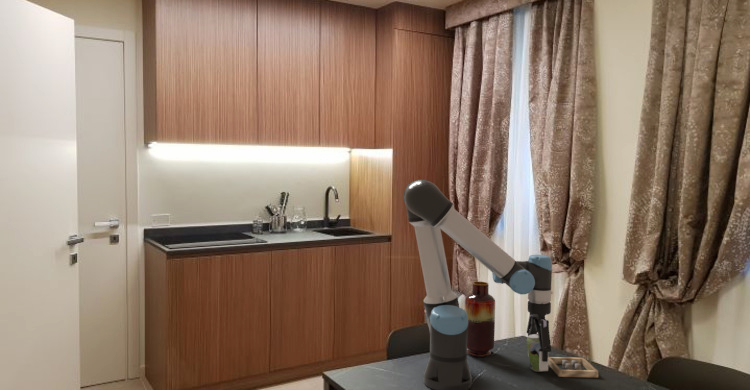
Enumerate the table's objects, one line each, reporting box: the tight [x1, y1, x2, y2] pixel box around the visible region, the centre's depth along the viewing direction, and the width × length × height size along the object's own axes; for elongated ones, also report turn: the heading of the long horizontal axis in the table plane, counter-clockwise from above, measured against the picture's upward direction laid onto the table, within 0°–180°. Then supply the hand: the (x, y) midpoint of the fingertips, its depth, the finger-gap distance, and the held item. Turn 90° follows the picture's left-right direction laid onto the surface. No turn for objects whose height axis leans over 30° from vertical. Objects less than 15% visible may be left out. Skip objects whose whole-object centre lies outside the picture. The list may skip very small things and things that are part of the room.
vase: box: [464, 281, 496, 358], centre depth 198 cm, size 11×11×26 cm
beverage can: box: [526, 333, 550, 373], centre depth 182 cm, size 6×7×12 cm
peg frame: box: [548, 356, 599, 378], centre depth 183 cm, size 13×13×2 cm
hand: (537, 363), depth 182 cm, fingers open, 13 cm apart
